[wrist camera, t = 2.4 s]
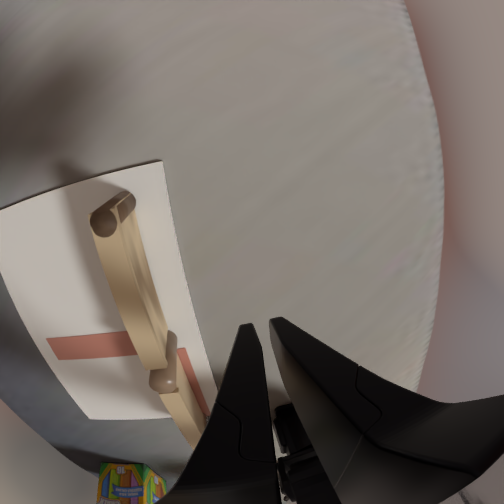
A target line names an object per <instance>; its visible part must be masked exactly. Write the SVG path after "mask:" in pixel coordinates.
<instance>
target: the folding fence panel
mask: <svg viewBox="0 0 504 504" xmlns="http://www.w3.org/2000/svg"><path fill="white" fill-rule="evenodd" d="M135 207H136V199H135V197H134V195H133V194H132V193H130V192H128V191H122V192H120V193H118V194H117V195H115V196H114V197H113V198H111V199H110V200H108V201H107V202H106V203H104V204H103V205H101V206H100V207H99V208H97V209H96V210H95V211H94V212H91V213H90V214H88V219H89V223H90V227H91V231H92V234H93V238H94V241H95V245H96V248H97V251H98V255H99V258H100V261H101V264H102V267H103V270H104V273H105V276H106V279H107V281H108V284H109V287H110V290H111V292H112V295H113V298H114V300H115V303H116V305H117V308H118V310H119V313H120V315H121V318H122V320H123V323H124V325H125V327H126V330H127V332H128V334H129V336H130V339H131V341H132V343H133V345H134V347H135V349H136V352H137V354H138V356H139V358H140V360H141V362H142V364H143V366H144V368H145V370H154V369H163V368H167V365H168V363H167V360H166V358H165V355H166V343H167V332H168V326H167V323H166V320H165V317H164V314H163V311H162V308H161V305H160V302H159V299H158V296H157V293H156V289H155V286H154V283H153V279H152V276H151V272H150V269H149V265H148V262H147V258H146V254H145V251H144V247H143V243H142V239H141V235H140V231H139V227H138V222H137V218H136V214H135Z"/></svg>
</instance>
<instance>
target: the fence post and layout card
mask: <svg viewBox="0 0 504 504" xmlns="http://www.w3.org/2000/svg"><path fill="white" fill-rule="evenodd" d="M122 191H128V192H130V193H132V194H133V195H134V197H135V199H136V207H135V214H136V218H137V222H138V227H139V231H140V235H141V239H142V243H143V247H144V251H145V254H146V258H147V262H148V265H149V269H150V272H151V276H152V279H153V283H154V286H155V289H156V293H157V296H158V299H159V302H160V305H161V308H162V311H163V314H164V317H165V320H166V323H167V326H168V332H167V343H166V355H165V358H166V360H167V363H168V365H167V368H163V369H154V370H145V368H144V366H143V364H142V362H141V360H140V358H139V356H138V354H137V352H136V349H135V347H134V345H133V343H132V341H131V339H130V336H129V334H128V332H127V330H126V327H125V325H124V323H123V320H122V318H121V315H120V313H119V310H118V308H117V305H116V303H115V300H114V298H113V295H112V292H111V290H110V287H109V284H108V281H107V279H106V276H105V273H104V270H103V267H102V264H101V261H100V258H99V255H98V251H97V248H96V245H95V241H94V238H93V234H92V231H91V227H90V223H89V219H88V214H90V213H91V212H94V211H95V210H96V209H97V208H99V207H100V206H101V205H103V204H104V203H106V202H107V201H108V200H110V199H111V198H113V197H114V196H115V195H117V194H118V193H120V192H122ZM0 272H1V275H2V277H3V280H4V282H5V284H6V287H7V289H8V291H9V294H10V296H11V298H12V300H13V302H14V305H15V307H16V309H17V311H18V313H19V315H20V317H21V319H22V321H23V322H24V324H25V326H26V328H27V330H28V332H29V334H30V335H31V337H32V339H33V341H34V342H35V344H36V346H37V347H38V349H39V351H40V352H41V354H42V355H43V357H44V359H45V360H46V362H47V363H48V365H49V366H50V368H51V369H52V371H53V372H54V374H55V375H56V377H57V378H58V379H59V381H60V382H61V384H62V385H63V386H64V388H65V389H66V390H67V392H68V393H69V394H70V396H71V397H72V398H73V399H74V401H75V402H76V403H77V405H78V406H79V407H80V408H81V409H82V411H83V412H84V413H85V414H86V415H87V416H88V418H89V419H105V420H130V419H155V418H169V417H172V418H173V420H174V421H175V423H176V424H177V426H178V428H179V429H180V431H181V432H182V434H183V435H184V437H185V438H186V440H187V441H188V443H189V444H190V446H191V447H192V449H193V450H194V449H195V447H196V445H197V443H198V441H199V439H200V437H201V435H202V433H203V431H204V429H205V427H206V424H207V421H206V416H210V414H211V411H212V408H213V405H214V403H215V399H216V396H217V393H218V389H217V386H216V383H215V380H214V377H213V374H212V371H211V368H210V364H209V361H208V358H207V355H206V351H205V348H204V344H203V341H202V337H201V334H200V330H199V327H198V323H197V320H196V316H195V312H194V308H193V305H192V301H191V297H190V293H189V289H188V285H187V281H186V277H185V273H184V268H183V264H182V260H181V255H180V251H179V246H178V242H177V237H176V232H175V227H174V222H173V217H172V212H171V207H170V202H169V196H168V191H167V185H166V179H165V173H164V167H163V161H160V162H155V163H150V164H146V165H141V166H137V167H133V168H128V169H124V170H120V171H116V172H112V173H109V174H105V175H101V176H98V177H94V178H91V179H87V180H84V181H80V182H77V183H74V184H71V185H67V186H64V187H61V188H58V189H55V190H52V191H49V192H46V193H44V194H41V195H38V196H35V197H33V198H30V199H27V200H25V201H22V202H19V203H17V204H14V205H12V206H10V207H7V208H5V209H2V210H0Z"/></svg>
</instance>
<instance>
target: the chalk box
mask: <svg viewBox="0 0 504 504" xmlns="http://www.w3.org/2000/svg"><path fill="white" fill-rule="evenodd" d="M165 494H166V481H165V480H164V479H162V478H161V477H160V476H159V475H157V474H156V473H155V472H153V471H152V470H151V469H150V468H149V467H147V466H146V465H145V464H116V463H103V462H101V465H100V474H99V483H98V493H97V504H154V503H155V502H156V501H158V500H159V499H160V498H162V497H163V496H164V495H165Z"/></svg>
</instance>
